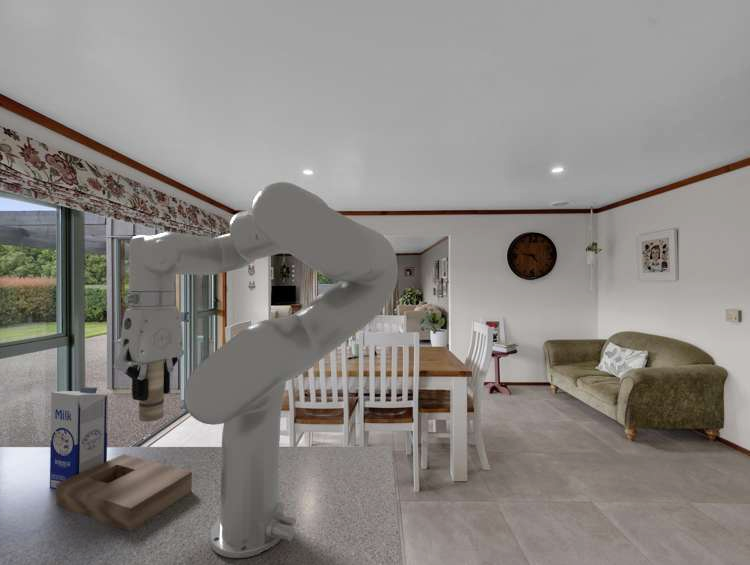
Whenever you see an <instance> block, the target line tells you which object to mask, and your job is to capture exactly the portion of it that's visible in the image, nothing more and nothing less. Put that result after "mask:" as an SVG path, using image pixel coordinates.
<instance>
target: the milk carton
mask: <svg viewBox="0 0 750 565" xmlns="http://www.w3.org/2000/svg"><path fill="white" fill-rule="evenodd" d="M97 390H98V387H95V386H94V387H92V386H81V387H80V390H79V391H76V390H75V391H74V390H71V391H70V390H60V391H51V392H50V395H51V396H50V403H51V404H50V448H49V449H50V451H49V456H50V457H49V489H53V490H56V484H57V483H59V482H62V481H64V480H66V479H68V478H71V477H73V476H75V475H77V474H80V473H82V472H84V471H86V470H89V469H91V468H93V467H96V466H98V465H100V464H102V463H105V462H107V461H108V460H107V459H108V455H107V454H108V414H109V413H108V410H109V409H108V408H109V393H108V394H107V393H101V392H99V393H98V392H97Z"/></svg>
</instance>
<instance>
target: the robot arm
mask: <svg viewBox="0 0 750 565" xmlns="http://www.w3.org/2000/svg"><path fill="white" fill-rule="evenodd" d="M251 205H252V206H251V208H250V209H245V210H242V211H239V212H237V213H236V214H234V215H233V216H232V218H231V220H230V222H229V223H230V224H229V232H228V233H227V234H223V235H220V236H215V237H206V236H200V235H195V234H187V233H180V232H175V231H174V232H173V231H170V232H163V233H162V232H161V233H158V234H155V235H136V236H133V237H132V238H131V239H130V241H129V243H128V264H129V265H128V295H125V296H124V297H123V303H125V304H128V308H126V309H125V311H124V316H123V320H122V326H121V331H120V346H119V347H120V348H119V351H120V352H119V355H117V357H116V360H115V361H114V364H113V365H112V367H113V368H114V369H115V370H118V371H120V372H122V373H124V374H125V375H126V376H128V378H129V380H130V379H131V395H132V400H134V401H135V400H136V401H139V400H140V401H146V400H147V399H148V379H144V378H145V374H146V368H147V363H151V362H156V361H160V360H164V395H166V394H167V395H168V394H170V392H171V391H170V390H171V373H173V371H174V366H176V364H177V363H178V361H179V360H180V359H181V358H182V357H183V356H184V355H185V351H184V342H183V341H184V340H183V325H182V319H181V318H182V317H181V314H180V310H179V307H178V306H175V303H176V302H175V300H176V299H175V298H176V296H175V294H176V292H175V291H176V290H175V289H176V288H175V286H176V284H175V283H176V282H175V279H176V277H175V276H176V275H185V276H187V275H190V276H191V275H194V276H213V275H218V274H225V273H226V272H227V273H228V272H231V271H236V270H238V269H243V268H245V267H248V266H249V265H251V264H253V263H254V262H255V261H256V260H261V259H263V258H267V257H271V256H274V255H279V254H282V253H286V252H287V253H288V254H290V255H291V256H293V257H294V258H296V259H297V260H298V261H300V262H302V263H303V264H305V265H307V266H308V267H309V268H311V269H312V270H314V271H315V272H317V273H318V274H320V275H322V276H324V277H326V278H328V279H330V280H334V281H337V283H335V284H334V285H332V286H330V287H329V288H328V289H327V288H326V290H324V291H322V292H321V293H320V294H318V295H317V296H316V297H315V298H313V300H311V301H310V302H309V303H307V304H306V305H304V306H303V307H302V308H300V309H299V310H297V311H296V312H294V313H292V314H290V315H285V316H281V317H277V318H276V317H275V318H271V319H266V320H265V319H264V320H261V321H258V322H255V323H253V324H251V325H248V326H247V327H245V328H243V329H242V330H241V331H239V332H238V333H237V334H235V335H234V336H233V337H232V338H230V339H229V340H228V341H227V342H225V343H224V344H223V345H222V346H220V347H219V348H218V349H216V350H215V351H214V352H213V353H211V354H210V355H209V356H208V357H206V358H205V359H204V360H203V361H202V362H200V363H199V364H198V365H197V366H196V367H195V368H194V369H193V371H192V372H191V373H190V374H189V376H188V378H187V381H186V384H185V387H184V393H183V398H184V405H185V408H186V409H187V412H188V413H189V415H190V416H191V417H192V418H194V420H196V421H198V422H200V423H202V424H205V425H210V426H211V425H214V426H215V425H222V424H223V427H222V432H221V434H222V435H221V453H220V454H221V455H220V456H221V457H220V460H221V461H220V462H221V463H220V468H221V469H220V502H219V505H220V506H219V509H220V513H219V515H220V516H219V518H218V519H217V520H216V521H215V522H214V524H213V525H212V527H211V528H210V531H209V545H210V547H211V548H212V550H213V551H214V552H215V553H217V554H218V555H220V556H222V557H226V558H229V559H244V558H249V557H250V556H251V557H254V555H255V556H257V554H258V555H260V553H261V552H263V551H265V550H267V551H269V550H270V549H272V548H273V547H275V546H276V545H277V544H278V543H279V542H280V541H281V540H285V541H288V542H291V541H293V540H292V539H293V538H294V536H295V531H296V529H295V525H296V523H297V519H296V518H295V517H293V516H287V515H286V514H285V512H284V508H285V507H284V505H285V504H284V503H283V502H279V483H280V481H279V480H280V479H279V478H280V441H281V440H280V438H281V417H282V416H281V415H282V408H283V402H284V396H285V391H286V384H287V382H288V381H291V380H293V379H294V378H296V377H299V376H301V375H303V374H304V373H306V372H308V371H309V370H311V369H312V368H314V367H315V365H317V364H318V363H319V362H320V361H322V359H324V358H325V357H326V356H328V355H329V354H330V353H332V352H333V351H334V350H336V349H337V348H338V347H340V346H341V345H343V344H344V343H345V342H347V341H349V339H350V338H351V337H353V336H354V335H356V334H357V333H358V332H359V331H361V330H362V329H364V328H365V327H366V326H367V325H369V324H370V323H371V322H372V321H373V320H375V318H376V317H377V316H379V314H380V313H381V312H382V311H383V310H384V309H385V307H386V306H387V305H388V303H389V302H390V300H391V298H392V296H393V294H394V293H395V292H394V291H395V289H396V285H397V280H398V275H399V274H398V271H399V269H398V258H397V254H396V251H395V248H394V247H393V245H392V244H391V242H390V241H389V239H387V237H386V236H385V235H384V234H382V233H381V232H379V231H377V230H375V229H373V228H372V227H368V226H365V225H363V224H361V223H360V222H357V221H354V220H352V218H349V217H347V216H346V215H343V214H342V213H341V212H338V211H336V210H335V209H333V208H331V207H329V205H328V203H327V202H326V201H324V200H323V199H322V198H321V197H319V196H318V195H316V194H315V193H312V192H311V191H308V190H306V189H305V188H302V187H300V186H298V185H297V184H293V183H290V182H285V181H283V182H282V181H279V182H274V183H270V184H268V185H266V186H265V187H263V188H262V189H261V190H260V191H259V192H258V193H257V194H256V196H255V198H254V199H253V202H252V204H251ZM128 363H130V364H128ZM275 544H276V545H275ZM271 547H272V548H271ZM269 548H270V549H269ZM268 549H269V550H268ZM265 552H266V551H265ZM263 553H264V552H263ZM261 554H262V553H261Z"/></svg>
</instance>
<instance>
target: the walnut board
mask: <svg viewBox="0 0 750 565" xmlns="http://www.w3.org/2000/svg"><path fill="white" fill-rule="evenodd" d="M192 476H193V472H192V471H189V470H186V469H181V468H178V467H174V466H171V465H166V464H162V463H159V462H155V461H152V460H148V459H144V458H139V457H136V456H132V455H129V454H124V453H123V454H121V455H119V456H116V457H114V458H112V459H109V460H107V462H105V463H102V464H100V465H98V466H96V467H93V468H91V469H89V470H86V471H84V472H82V473H80V474H77V475H75V476H73V477H71V478H68V479H66V480H64V481H62V482H59V483H57V484H56V489H55V505H56V506H59V507H61V508H64V509H67V510H68V511H69V510H70V511H73V512H75V513H77V514H81V515H83V516H86V517H88V518H91V519H94V520H97V521H99V522H100V521H101V522H102V523H105V524H108V525H111V526H114V527H116V528H119V529H121V530H124V531H128V532H131V531H133V530H135V529H136V528H138V527H140V526H141V525H143V523H144V524H145V522H147V521H149V520H150V519H152V518H153V517H155V516H156V515H157V514H159V513H161V512H162V511H165V509H167V508H168V507H170V506H171V505H173V504H174V503H176V502H177V501H179V500H181V499H182V498H184V497H185V496H186V495H188V494H190V493H192V487H193V486H192V484H193V482H192V479H193V478H192Z"/></svg>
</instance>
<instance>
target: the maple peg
mask: <svg viewBox="0 0 750 565" xmlns="http://www.w3.org/2000/svg"><path fill="white" fill-rule="evenodd" d="M164 362H165V361H164V360H160V361H156V362H151V363H147V368H146V374H145V378H144V379H148V399H147V400H146V401H140V400H138V420H139V421H140V422H146V423H147V422H153V421H157V420H160V419H162V418H164V405H165V404H164V402H165V398H164V395H165V394H164Z"/></svg>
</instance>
